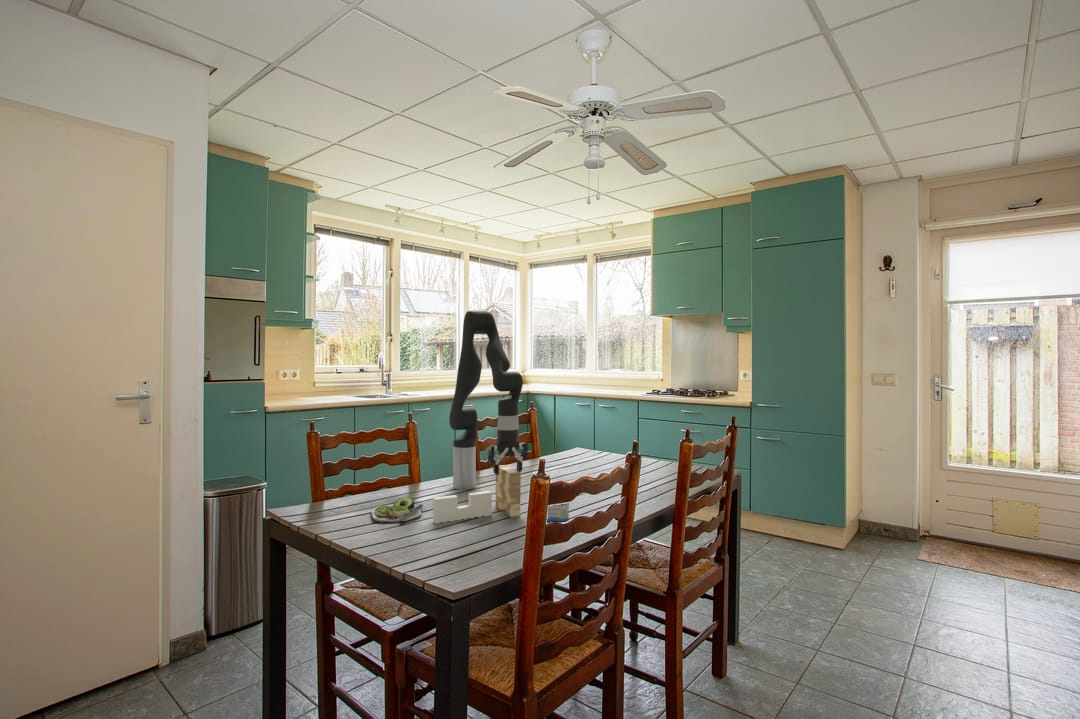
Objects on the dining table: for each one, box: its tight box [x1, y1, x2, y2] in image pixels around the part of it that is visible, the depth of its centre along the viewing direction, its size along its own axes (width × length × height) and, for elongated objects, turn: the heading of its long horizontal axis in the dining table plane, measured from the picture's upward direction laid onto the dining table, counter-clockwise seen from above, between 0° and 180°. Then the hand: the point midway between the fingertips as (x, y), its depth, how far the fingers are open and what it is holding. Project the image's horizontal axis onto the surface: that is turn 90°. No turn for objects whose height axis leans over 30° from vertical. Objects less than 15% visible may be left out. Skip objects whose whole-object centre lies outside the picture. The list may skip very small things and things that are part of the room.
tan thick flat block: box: [495, 464, 522, 518], centre depth 193 cm, size 14×4×15 cm, turn 27°
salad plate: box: [370, 497, 424, 523], centre depth 187 cm, size 19×18×5 cm
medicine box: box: [546, 502, 570, 523], centre depth 184 cm, size 8×4×9 cm, turn 99°
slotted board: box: [432, 490, 493, 524], centre depth 185 cm, size 2×20×8 cm, turn 117°
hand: (507, 473), depth 193 cm, fingers open, 8 cm apart
